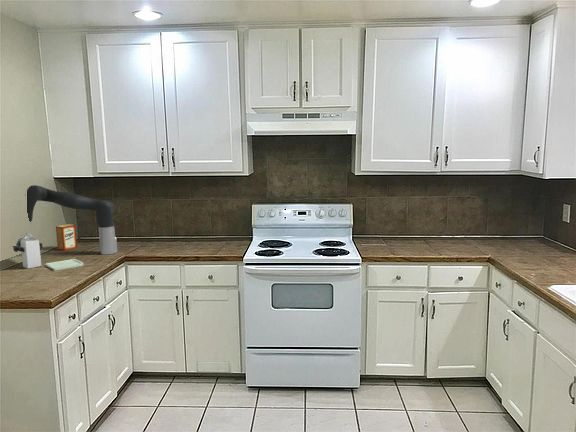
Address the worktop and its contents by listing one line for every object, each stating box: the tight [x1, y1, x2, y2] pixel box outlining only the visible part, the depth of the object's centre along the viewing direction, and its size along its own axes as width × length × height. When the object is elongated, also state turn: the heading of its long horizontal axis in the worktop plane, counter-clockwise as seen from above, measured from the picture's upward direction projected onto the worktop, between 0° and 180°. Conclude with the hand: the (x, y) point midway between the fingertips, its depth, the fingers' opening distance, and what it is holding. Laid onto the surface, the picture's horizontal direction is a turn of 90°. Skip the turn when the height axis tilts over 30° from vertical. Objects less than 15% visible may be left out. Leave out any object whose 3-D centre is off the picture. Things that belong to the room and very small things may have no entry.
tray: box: [45, 258, 85, 272], centre depth 254 cm, size 16×16×1 cm
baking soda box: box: [55, 223, 78, 251], centre depth 298 cm, size 10×6×16 cm
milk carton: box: [20, 233, 42, 270], centre depth 251 cm, size 7×7×19 cm
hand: (31, 249), depth 250 cm, fingers closed on milk carton, 8 cm apart
